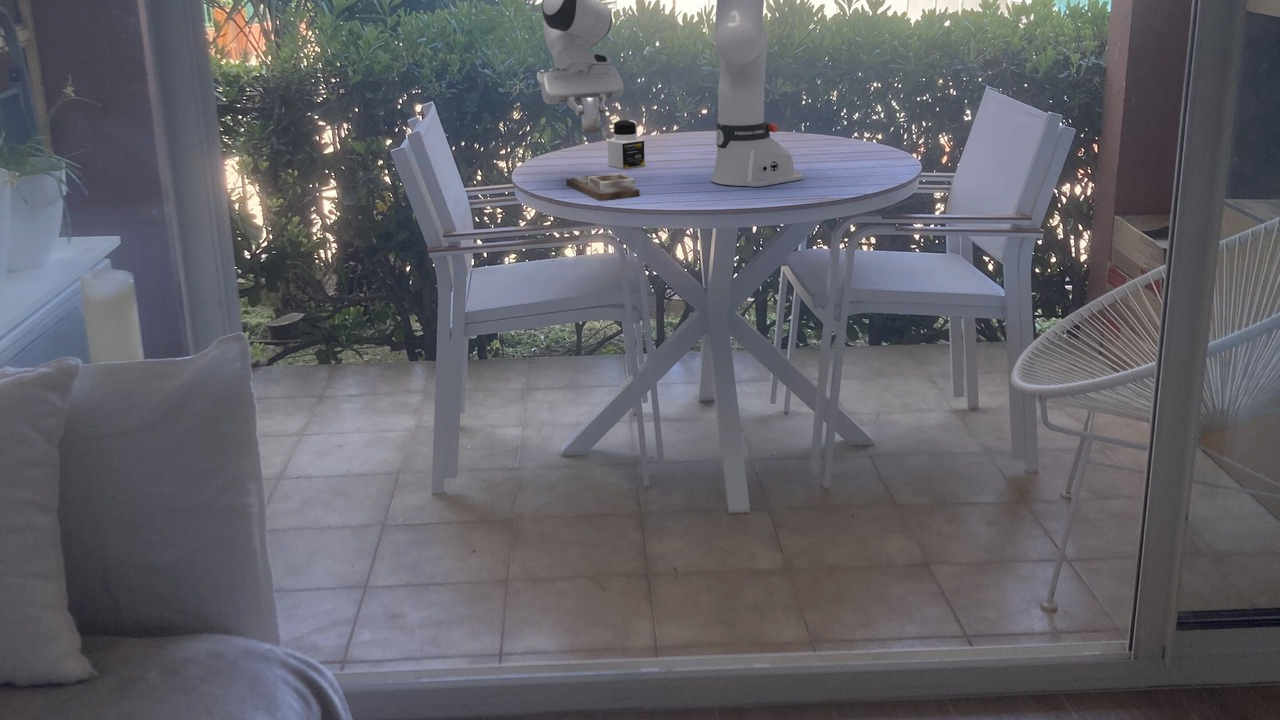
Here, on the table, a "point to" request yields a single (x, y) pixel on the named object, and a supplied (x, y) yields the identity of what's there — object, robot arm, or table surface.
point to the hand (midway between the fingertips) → (591, 112)
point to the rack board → (605, 186)
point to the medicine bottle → (625, 146)
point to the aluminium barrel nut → (590, 114)
